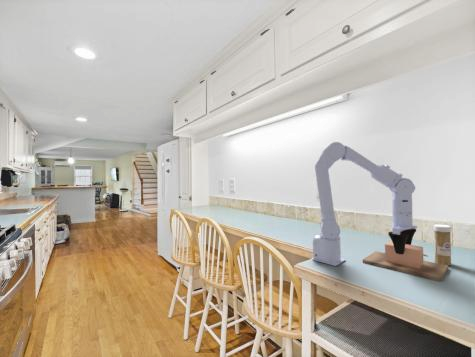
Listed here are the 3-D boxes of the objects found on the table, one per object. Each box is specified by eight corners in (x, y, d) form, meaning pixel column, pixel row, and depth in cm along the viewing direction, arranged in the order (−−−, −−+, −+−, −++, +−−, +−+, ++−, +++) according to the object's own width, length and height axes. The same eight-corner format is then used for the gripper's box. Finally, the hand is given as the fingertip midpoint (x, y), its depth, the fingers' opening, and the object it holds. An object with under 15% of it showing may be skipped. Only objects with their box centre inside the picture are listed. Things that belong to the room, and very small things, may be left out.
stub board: (362, 262, 87) (362, 251, 87) (375, 253, 96) (375, 243, 96) (440, 281, 71) (440, 267, 71) (448, 268, 79) (448, 256, 79)
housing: (385, 261, 85) (384, 244, 85) (389, 257, 88) (389, 241, 88) (419, 268, 78) (419, 250, 78) (423, 264, 81) (423, 246, 81)
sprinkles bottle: (444, 266, 81) (443, 227, 81) (431, 261, 85) (430, 224, 85) (455, 265, 82) (454, 226, 82) (441, 260, 86) (440, 223, 86)
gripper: (410, 216, 75) (411, 259, 75) (421, 210, 85) (422, 248, 85) (385, 214, 80) (385, 254, 81) (398, 208, 90) (399, 244, 90)
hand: (402, 251), depth 83 cm, fingers open, 7 cm apart
